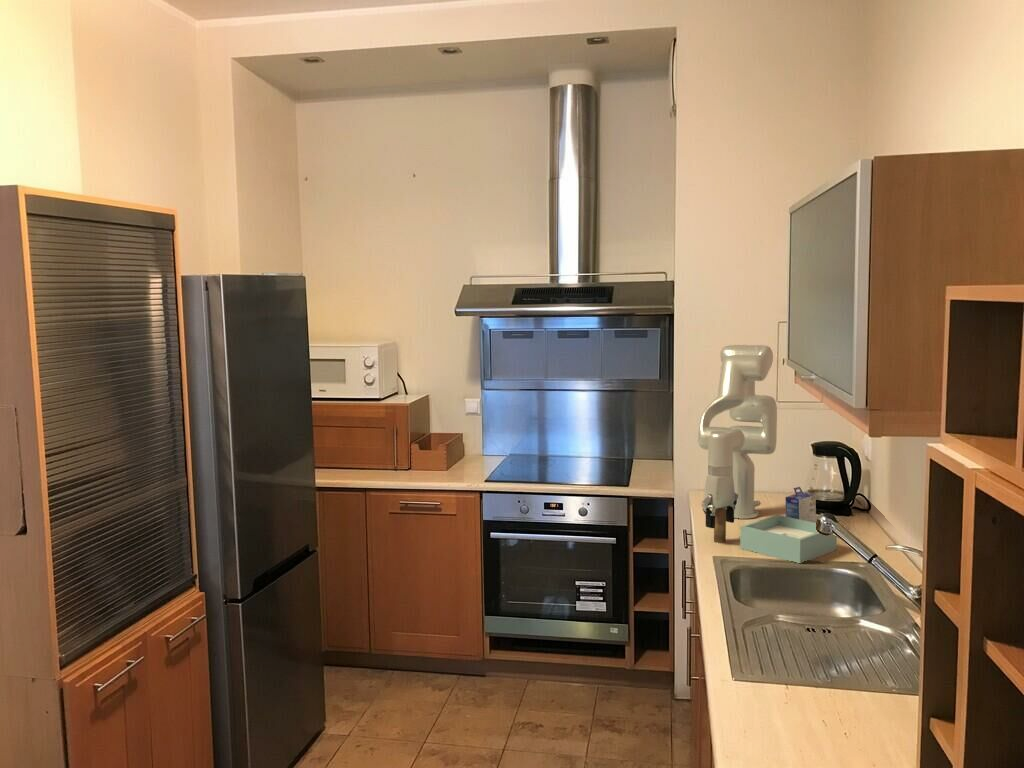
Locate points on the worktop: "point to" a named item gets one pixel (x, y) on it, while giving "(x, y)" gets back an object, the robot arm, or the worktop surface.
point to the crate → (786, 539)
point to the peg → (720, 525)
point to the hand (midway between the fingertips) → (719, 524)
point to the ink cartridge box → (801, 506)
